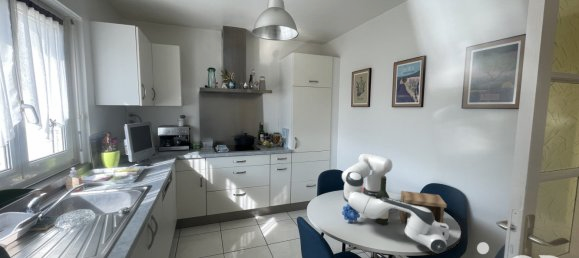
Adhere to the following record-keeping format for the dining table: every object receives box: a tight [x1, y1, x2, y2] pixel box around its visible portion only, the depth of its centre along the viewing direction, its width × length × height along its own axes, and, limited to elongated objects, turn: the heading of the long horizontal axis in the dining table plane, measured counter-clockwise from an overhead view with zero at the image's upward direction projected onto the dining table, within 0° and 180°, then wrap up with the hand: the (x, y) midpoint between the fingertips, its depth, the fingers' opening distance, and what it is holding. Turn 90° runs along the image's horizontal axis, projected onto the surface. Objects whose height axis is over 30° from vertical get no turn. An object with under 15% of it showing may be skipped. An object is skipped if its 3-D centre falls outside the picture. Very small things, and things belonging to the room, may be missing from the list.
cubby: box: [399, 190, 448, 225], centre depth 147 cm, size 22×16×17 cm
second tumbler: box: [405, 203, 415, 222], centre depth 152 cm, size 6×6×11 cm
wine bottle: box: [374, 175, 390, 226], centre depth 148 cm, size 8×8×30 cm
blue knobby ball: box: [341, 203, 361, 223], centre depth 147 cm, size 12×7×12 cm, turn 95°
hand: (424, 219), depth 139 cm, fingers open, 8 cm apart
